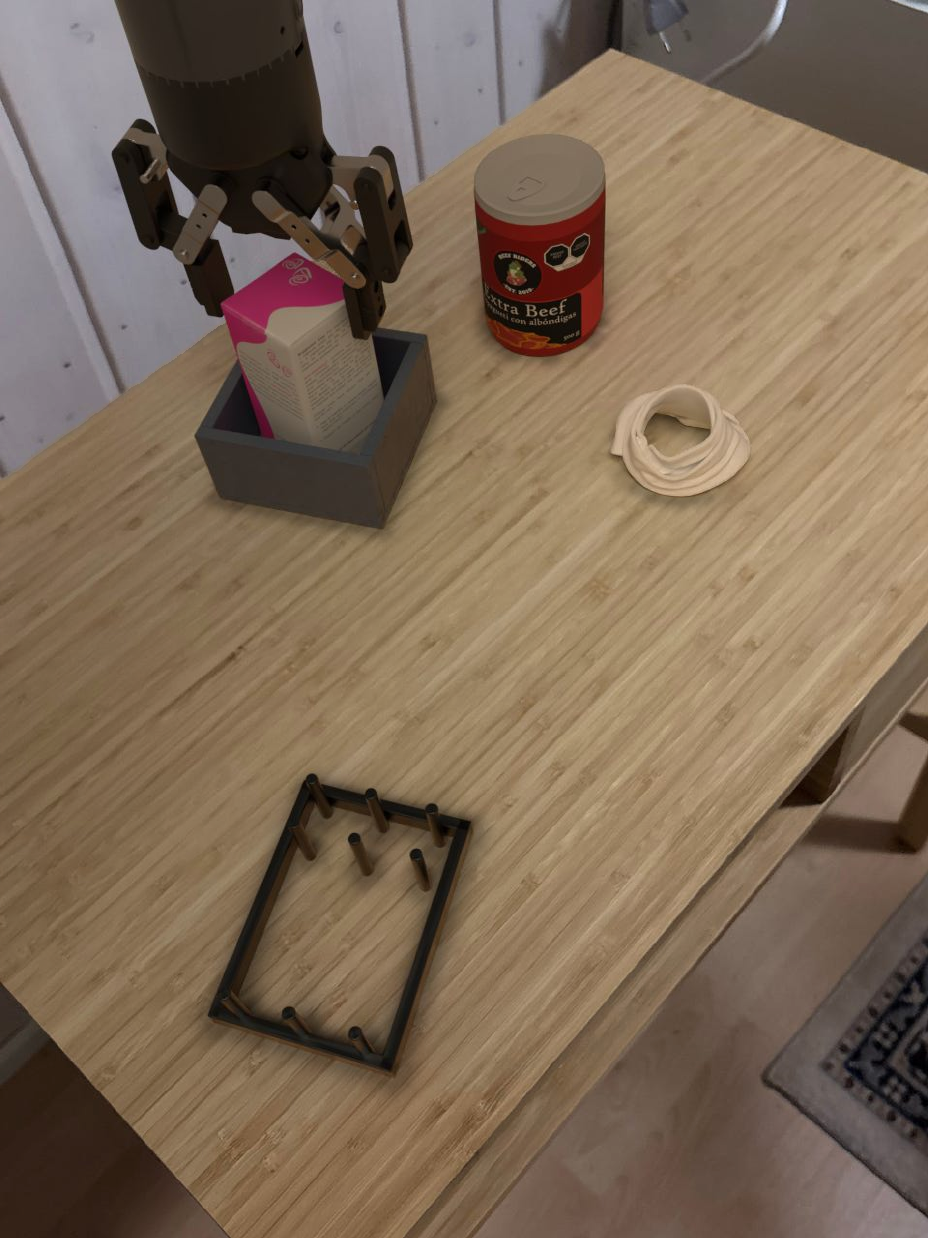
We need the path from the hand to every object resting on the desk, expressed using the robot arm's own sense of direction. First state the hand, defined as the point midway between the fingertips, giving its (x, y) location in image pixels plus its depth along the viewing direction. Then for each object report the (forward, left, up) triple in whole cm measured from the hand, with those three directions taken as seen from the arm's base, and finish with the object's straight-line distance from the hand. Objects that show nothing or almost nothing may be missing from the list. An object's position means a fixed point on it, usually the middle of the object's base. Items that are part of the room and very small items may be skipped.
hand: (293, 318), depth 62 cm
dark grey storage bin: (0, 0, -11) cm, 11 cm away
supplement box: (0, 0, -10) cm, 10 cm away
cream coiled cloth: (+4, -21, -11) cm, 24 cm away
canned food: (+14, -10, -11) cm, 20 cm away
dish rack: (-28, -12, -11) cm, 32 cm away
